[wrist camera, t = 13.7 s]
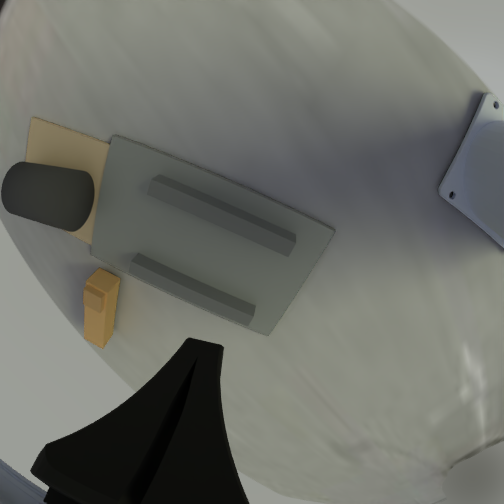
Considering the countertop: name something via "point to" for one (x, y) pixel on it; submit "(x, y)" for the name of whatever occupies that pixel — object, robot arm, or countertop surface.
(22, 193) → the dark grey cylinder
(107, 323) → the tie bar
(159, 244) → the board
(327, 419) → the countertop surface
